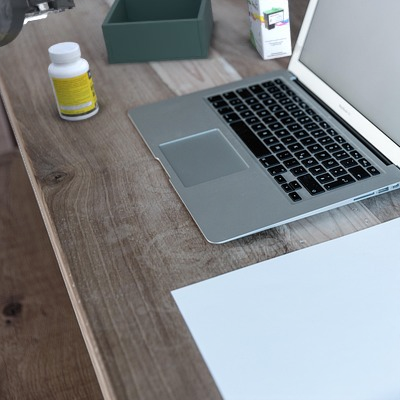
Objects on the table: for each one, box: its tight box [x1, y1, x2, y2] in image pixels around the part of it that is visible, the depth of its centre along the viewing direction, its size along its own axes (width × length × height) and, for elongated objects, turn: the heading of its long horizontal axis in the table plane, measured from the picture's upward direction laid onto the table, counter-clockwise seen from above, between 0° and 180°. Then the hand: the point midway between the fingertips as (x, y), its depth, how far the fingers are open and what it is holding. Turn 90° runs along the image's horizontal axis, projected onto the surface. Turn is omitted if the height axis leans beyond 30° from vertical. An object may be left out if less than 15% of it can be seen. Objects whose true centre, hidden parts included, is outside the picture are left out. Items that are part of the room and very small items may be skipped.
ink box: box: [246, 0, 293, 60], centre depth 113 cm, size 8×5×12 cm, turn 19°
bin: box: [101, 0, 215, 65], centre depth 118 cm, size 16×16×7 cm
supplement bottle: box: [47, 41, 99, 122], centre depth 98 cm, size 5×5×10 cm
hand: (25, 11), depth 85 cm, fingers open, 8 cm apart
